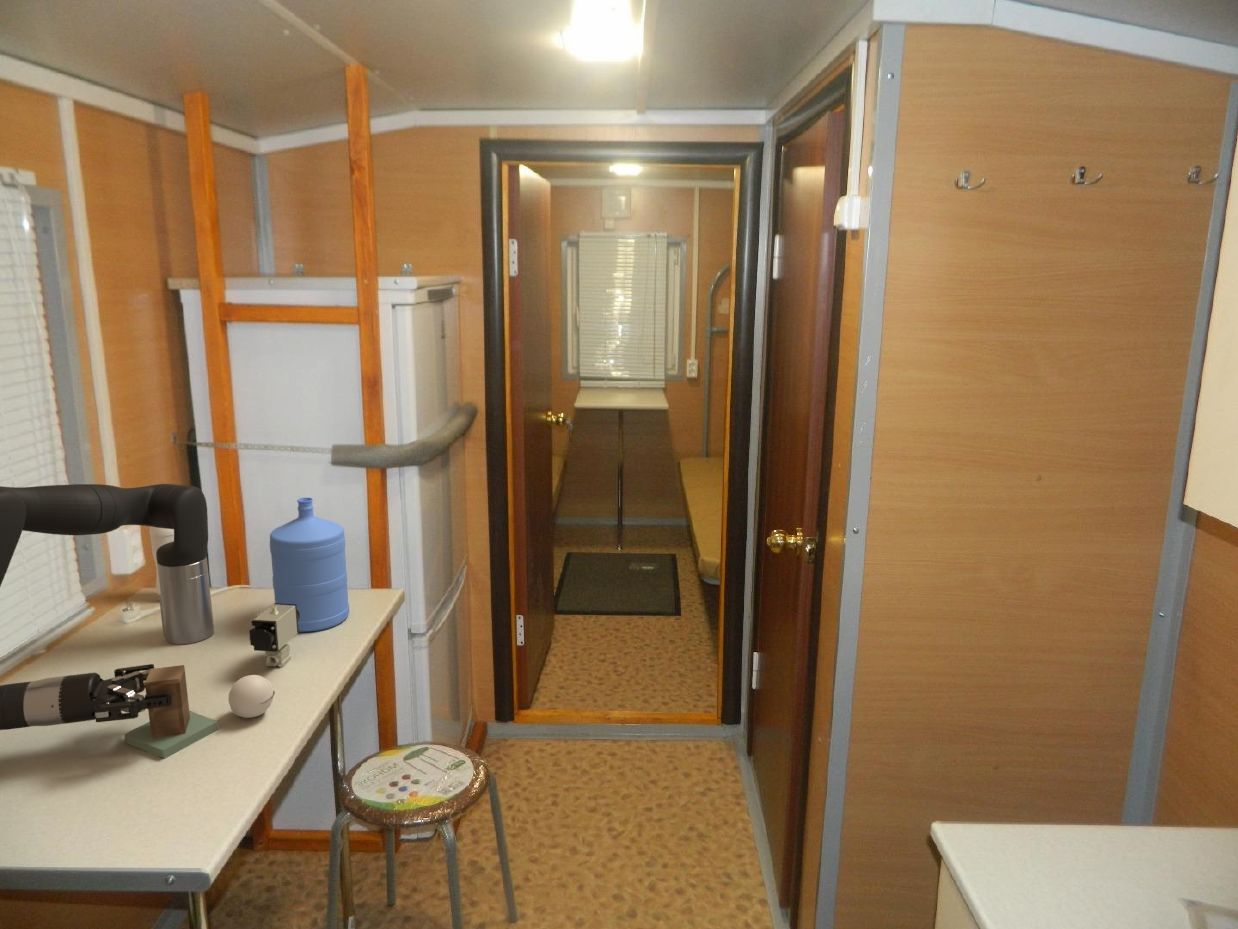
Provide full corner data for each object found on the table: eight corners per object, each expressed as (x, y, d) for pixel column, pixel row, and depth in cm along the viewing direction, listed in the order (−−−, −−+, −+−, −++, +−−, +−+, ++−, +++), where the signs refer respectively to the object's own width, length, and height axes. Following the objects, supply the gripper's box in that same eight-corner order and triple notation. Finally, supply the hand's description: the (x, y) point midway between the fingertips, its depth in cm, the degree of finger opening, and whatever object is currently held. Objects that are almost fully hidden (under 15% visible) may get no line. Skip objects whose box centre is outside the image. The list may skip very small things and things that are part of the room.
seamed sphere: (255, 729, 142) (251, 690, 140) (220, 721, 144) (216, 683, 142) (294, 701, 151) (291, 665, 149) (261, 694, 153) (258, 658, 152)
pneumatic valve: (303, 650, 171) (299, 596, 168) (275, 677, 160) (270, 620, 157) (278, 649, 172) (273, 595, 169) (248, 675, 160) (242, 618, 157)
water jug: (335, 634, 179) (327, 510, 172) (263, 632, 179) (253, 508, 173) (358, 605, 194) (352, 491, 188) (292, 604, 194) (283, 489, 188)
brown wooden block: (151, 738, 136) (144, 682, 134) (157, 722, 141) (151, 669, 138) (185, 733, 138) (179, 678, 135) (190, 718, 142) (184, 665, 140)
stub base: (125, 742, 137) (119, 700, 136) (179, 714, 146) (175, 675, 144) (164, 758, 133) (159, 716, 131) (218, 729, 142) (214, 689, 140)
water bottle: (198, 593, 199) (187, 494, 193) (173, 604, 192) (161, 501, 187) (175, 589, 201) (164, 490, 196) (150, 600, 195) (137, 498, 189)
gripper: (46, 700, 125) (165, 685, 130) (74, 658, 139) (181, 647, 144) (53, 744, 127) (170, 728, 132) (80, 699, 140) (186, 686, 145)
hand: (176, 686), depth 138 cm, fingers open, 8 cm apart
